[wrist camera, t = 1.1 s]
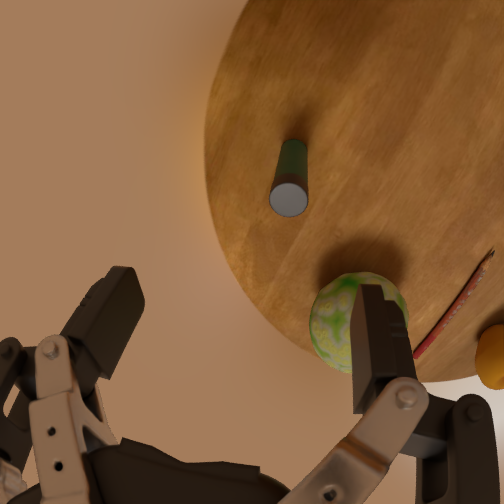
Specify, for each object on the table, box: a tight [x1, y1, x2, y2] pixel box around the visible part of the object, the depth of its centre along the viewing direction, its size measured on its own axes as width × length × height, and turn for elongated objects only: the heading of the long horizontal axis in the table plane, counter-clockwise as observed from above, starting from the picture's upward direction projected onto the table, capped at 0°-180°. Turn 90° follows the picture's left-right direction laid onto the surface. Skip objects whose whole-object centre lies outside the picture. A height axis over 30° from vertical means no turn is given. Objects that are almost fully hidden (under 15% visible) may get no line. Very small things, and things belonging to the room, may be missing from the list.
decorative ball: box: [309, 272, 409, 373], centre depth 29 cm, size 10×10×10 cm
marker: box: [269, 139, 308, 217], centre depth 22 cm, size 2×2×9 cm
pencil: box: [413, 250, 495, 359], centre depth 32 cm, size 19×1×1 cm, turn 169°
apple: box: [475, 324, 504, 390], centre depth 31 cm, size 9×8×9 cm
